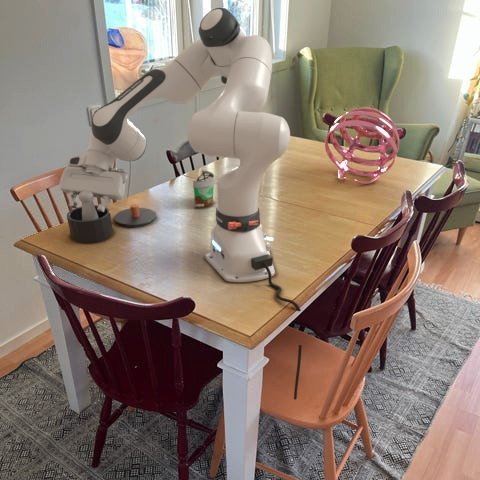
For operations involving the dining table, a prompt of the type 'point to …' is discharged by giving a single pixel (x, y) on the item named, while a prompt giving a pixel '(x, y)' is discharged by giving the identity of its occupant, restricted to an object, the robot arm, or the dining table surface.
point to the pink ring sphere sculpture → (355, 144)
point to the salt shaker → (88, 206)
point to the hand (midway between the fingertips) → (86, 209)
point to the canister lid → (135, 216)
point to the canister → (90, 226)
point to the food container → (204, 190)
